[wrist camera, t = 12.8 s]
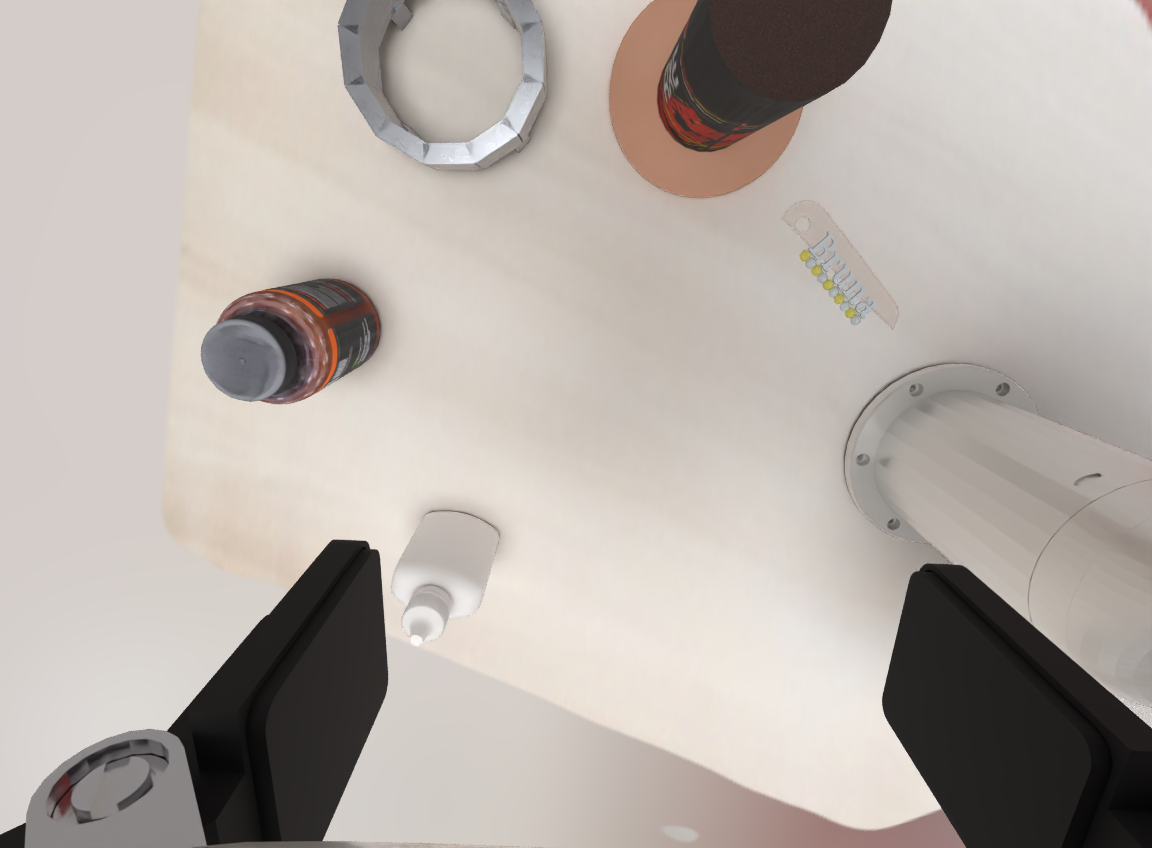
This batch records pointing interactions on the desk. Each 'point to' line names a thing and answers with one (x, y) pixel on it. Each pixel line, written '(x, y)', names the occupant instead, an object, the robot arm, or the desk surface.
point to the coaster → (646, 132)
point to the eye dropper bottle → (443, 572)
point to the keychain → (841, 265)
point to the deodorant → (760, 63)
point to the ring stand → (359, 46)
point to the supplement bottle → (290, 341)
